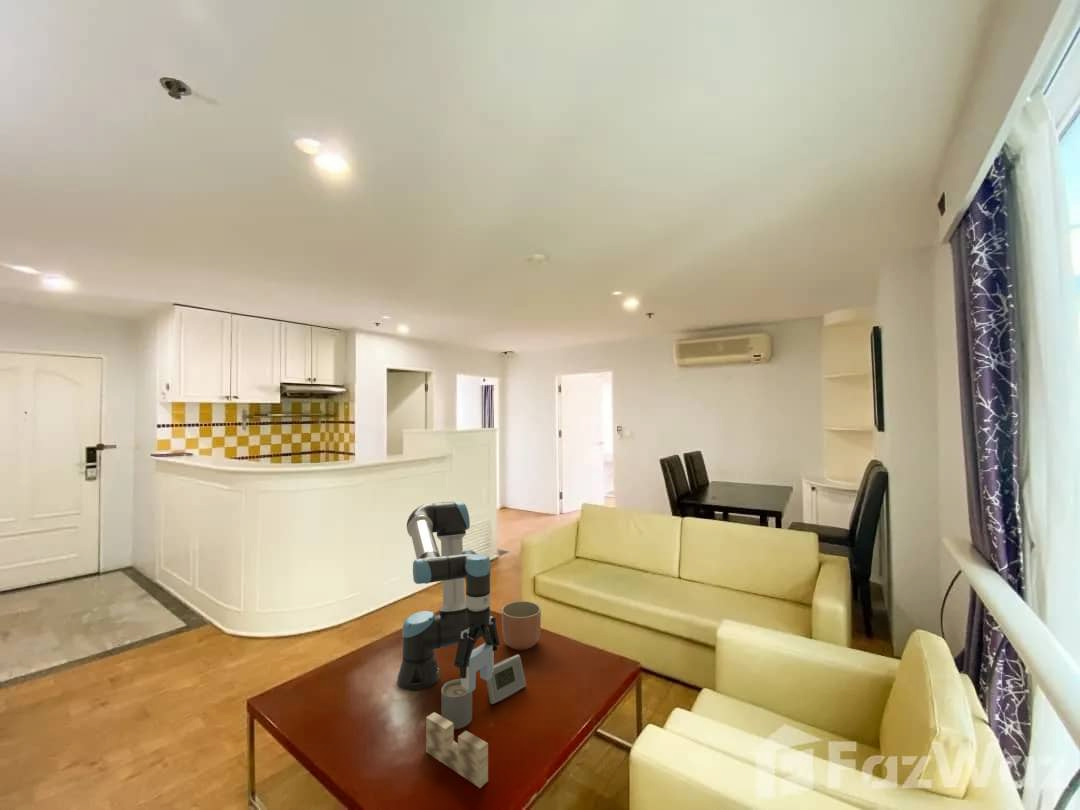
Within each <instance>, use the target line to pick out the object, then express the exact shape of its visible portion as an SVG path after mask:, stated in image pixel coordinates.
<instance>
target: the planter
mask: <svg viewBox="0 0 1080 810" xmlns="http://www.w3.org/2000/svg"><path fill="white" fill-rule="evenodd" d="M541 617H542V608H541V606H540V605H539V604H537V603H535V602H534V601H533V602H531V601H525V600H521V601H518V600H517V601H511V602H509V603H507V604H505V605H504V606H502V608H501V627H502V628H501V630H502V631H501V632H502V639H503V641H504V643H505V644H506V645H507V646H508V647H509V648H511V649H512V650H517V651H524V650H529V649H531V648H533V647H534V646H535V645H536V644H537V643H538V642H539V639H540V636H541V626H542V623H541V622H542V618H541Z"/></svg>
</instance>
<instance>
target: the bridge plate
mask: <svg viewBox="0 0 1080 810" xmlns="http://www.w3.org/2000/svg"><path fill="white" fill-rule="evenodd" d="M467 666H469V689H468V690H467V689H465V688H464V687H463V690H465V691H467V692H469V693H470V692H472V693H473V691H475V690H476V688H477V687H476V685H477V684H476V683H477V682H476V680H477V677H476V676H477V672H478V671H479V672H480V673H479V679H480V678H481V679H482V680H485V682H486V681H488V680H489V679H491V678H492V677H493V645H489V644H487V643H485V642H484V643H482V644H481V645H479V646H477V647H476V648H473V650H472V653H471V656H470V659H469V662H468V665H467Z"/></svg>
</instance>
